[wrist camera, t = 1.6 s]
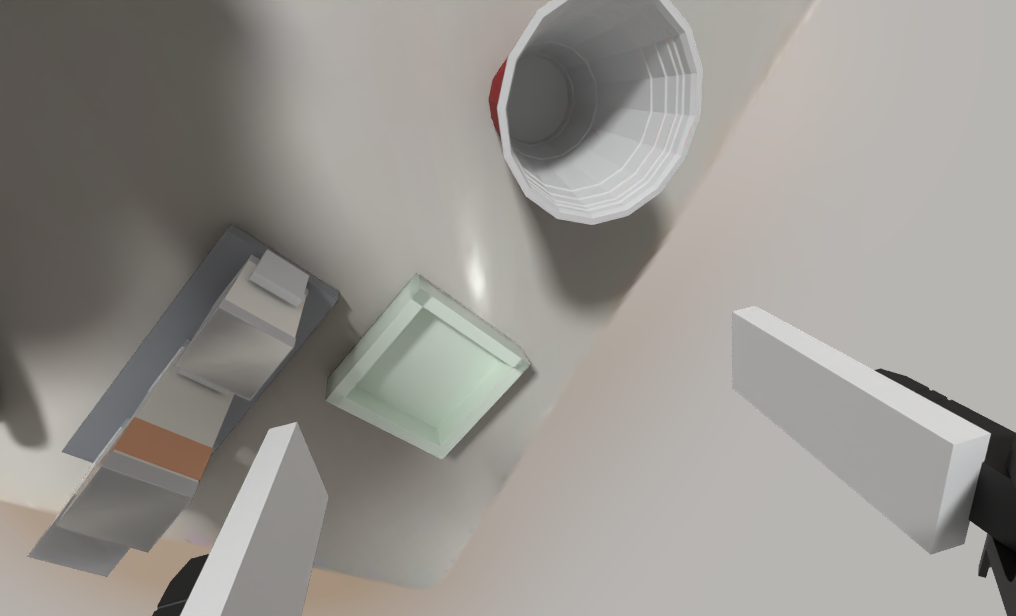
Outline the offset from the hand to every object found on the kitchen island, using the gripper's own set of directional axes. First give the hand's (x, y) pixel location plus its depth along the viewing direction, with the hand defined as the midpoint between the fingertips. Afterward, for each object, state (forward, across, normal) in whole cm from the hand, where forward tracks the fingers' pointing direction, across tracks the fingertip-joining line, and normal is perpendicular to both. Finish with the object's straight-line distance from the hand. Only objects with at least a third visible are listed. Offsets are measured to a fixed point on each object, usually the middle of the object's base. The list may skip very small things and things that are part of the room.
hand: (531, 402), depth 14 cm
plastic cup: (+23, +7, +8) cm, 25 cm away
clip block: (+22, -20, -5) cm, 30 cm away
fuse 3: (+21, -14, 0) cm, 25 cm away
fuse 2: (+21, -20, -5) cm, 29 cm away
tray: (+24, -5, -10) cm, 26 cm away
